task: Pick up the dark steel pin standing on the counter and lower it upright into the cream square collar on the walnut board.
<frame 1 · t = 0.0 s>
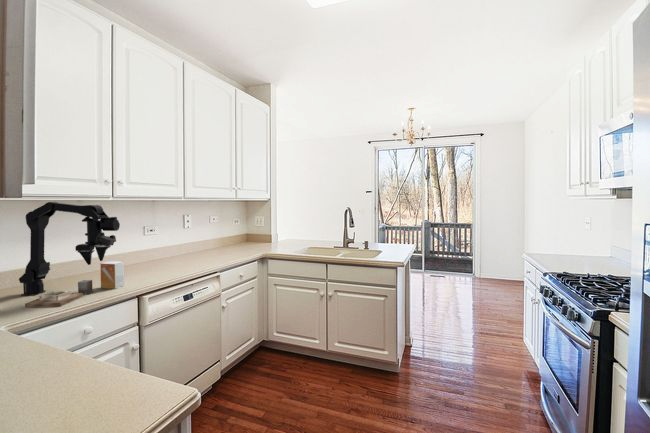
hand: (95, 262, 152), 15 cm above the worktop, tool pointing down, fingers open, 9 cm apart
holder board: (55, 301, 139), on the worktop
small box: (112, 287, 162), on the worktop
steel pin: (85, 293, 152), on the worktop
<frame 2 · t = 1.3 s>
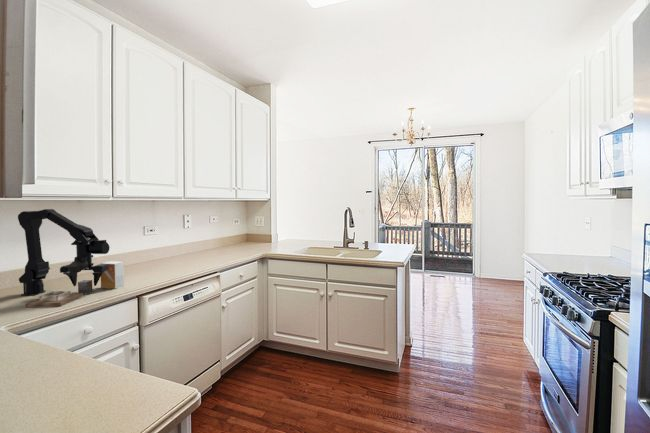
hand: (85, 285, 151), 4 cm above the worktop, tool pointing down, fingers open, 9 cm apart
nothing on the worktop moved.
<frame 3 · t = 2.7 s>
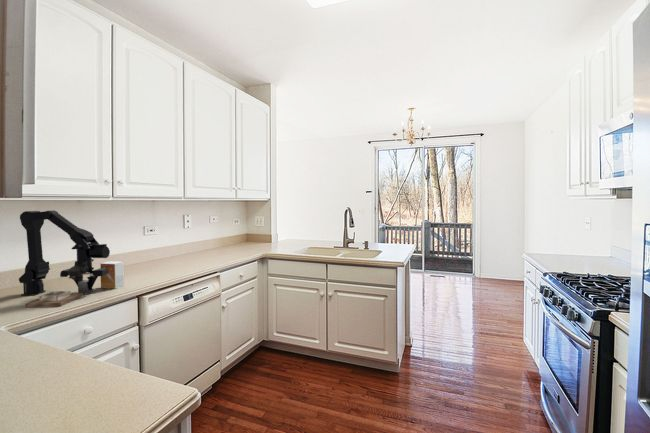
hand: (85, 290, 152), 2 cm above the worktop, tool pointing down, fingers closed on steel pin, 4 cm apart
steel pin: (85, 293, 152), on the worktop, touching gripper
everything else where it was.
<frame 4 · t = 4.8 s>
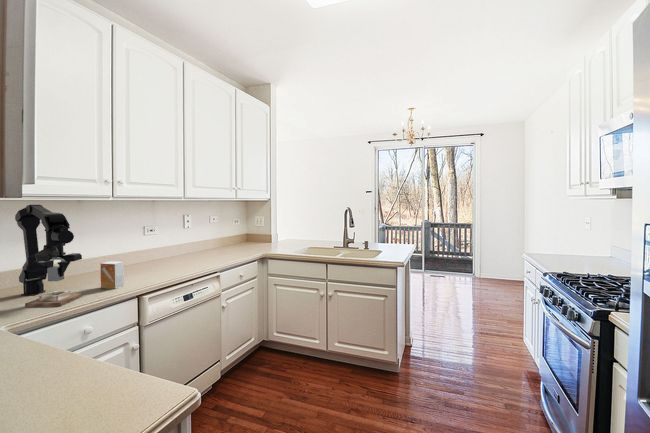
hand: (56, 276, 139), 11 cm above the worktop, tool pointing down, fingers closed on steel pin, 4 cm apart
steel pin: (56, 280, 139), point 9 cm above the worktop, touching gripper
everything else where it was.
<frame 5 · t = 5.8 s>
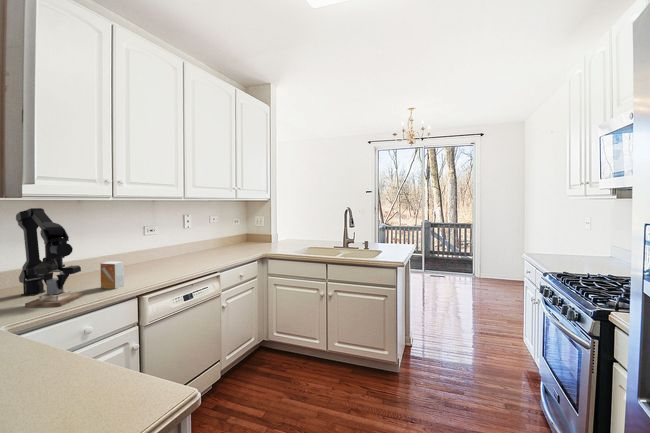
hand: (55, 289, 139), 6 cm above the worktop, tool pointing down, fingers closed on steel pin, 4 cm apart
steel pin: (55, 292, 139), point 4 cm above the worktop, touching gripper
everything else where it was.
when the fingers open (4 cm above the worktop, at t = 6.8 s): steel pin drops 1 cm, resting on holder board.
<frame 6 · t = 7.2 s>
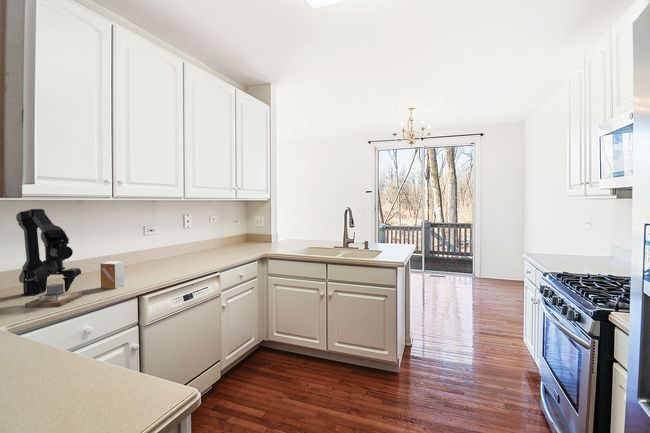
hand: (55, 291, 139), 4 cm above the worktop, tool pointing down, fingers open, 9 cm apart
steel pin: (55, 298, 139), point 1 cm above the worktop, touching holder board
everything else where it was.
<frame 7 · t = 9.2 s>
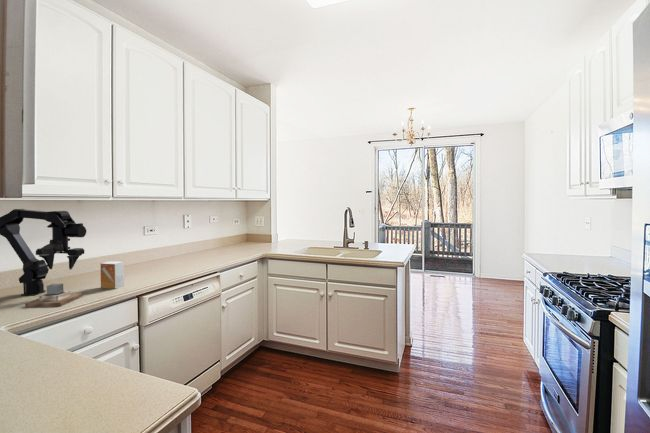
hand: (60, 269, 150), 12 cm above the worktop, tool pointing down, fingers open, 9 cm apart
nothing on the worktop moved.
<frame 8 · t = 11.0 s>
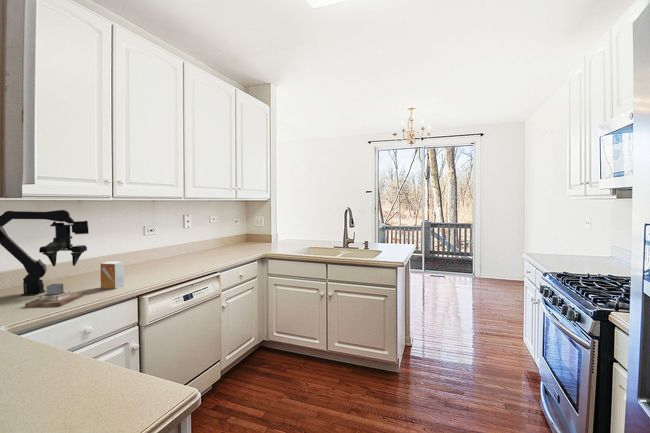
hand: (64, 265, 157), 12 cm above the worktop, tool pointing down, fingers open, 9 cm apart
nothing on the worktop moved.
at the end: steel pin 0.0 cm off-centre on the holder board, point 1.5 cm above the holder board's base; steel pin tilted 0°; the gripper is holding nothing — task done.
